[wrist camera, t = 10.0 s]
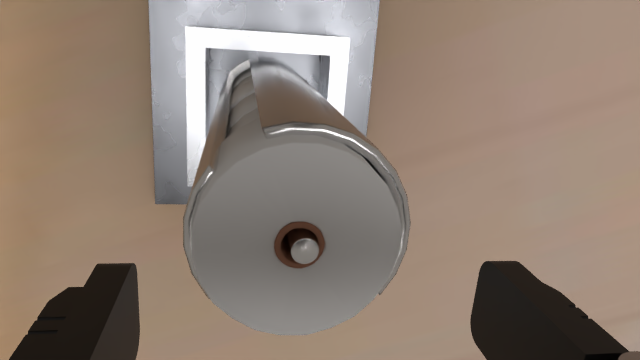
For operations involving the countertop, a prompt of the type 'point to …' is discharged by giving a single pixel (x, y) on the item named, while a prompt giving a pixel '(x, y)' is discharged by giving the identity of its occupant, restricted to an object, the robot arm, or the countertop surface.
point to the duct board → (237, 47)
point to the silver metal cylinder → (291, 207)
